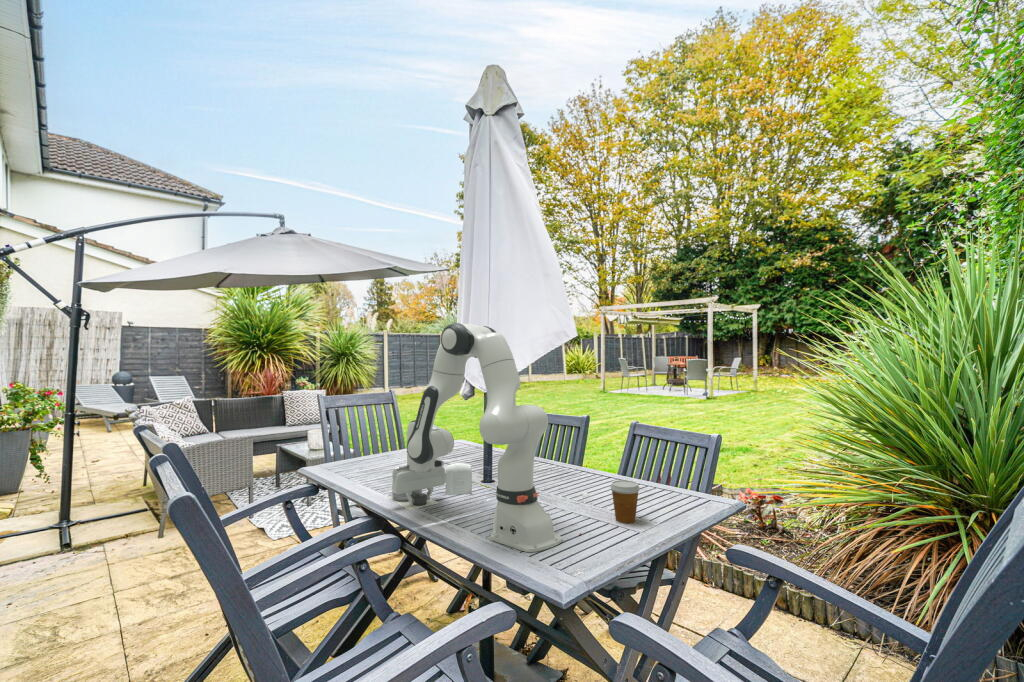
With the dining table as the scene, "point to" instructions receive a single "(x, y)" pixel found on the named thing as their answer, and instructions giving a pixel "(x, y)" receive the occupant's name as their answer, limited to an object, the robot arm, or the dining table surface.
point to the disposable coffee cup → (625, 500)
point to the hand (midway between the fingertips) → (419, 501)
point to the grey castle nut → (403, 496)
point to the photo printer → (459, 479)
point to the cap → (420, 499)
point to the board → (411, 506)
